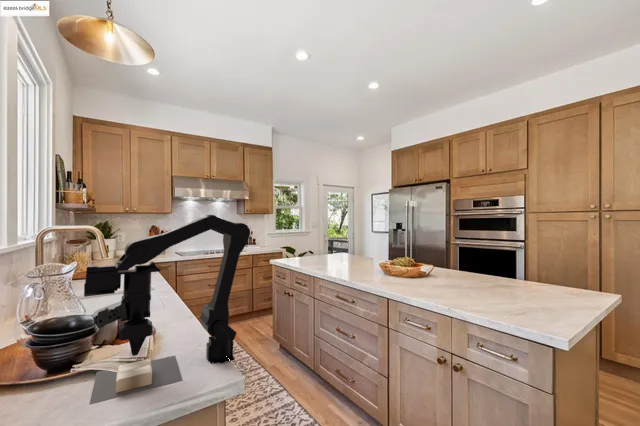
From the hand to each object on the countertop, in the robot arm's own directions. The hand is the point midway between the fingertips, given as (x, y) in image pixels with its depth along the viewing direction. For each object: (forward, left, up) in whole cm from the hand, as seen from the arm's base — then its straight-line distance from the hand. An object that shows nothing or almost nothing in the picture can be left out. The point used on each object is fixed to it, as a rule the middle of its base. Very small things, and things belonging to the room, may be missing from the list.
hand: (134, 354), depth 71 cm
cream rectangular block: (0, -3, -4) cm, 6 cm away
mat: (-1, -1, -6) cm, 7 cm away
